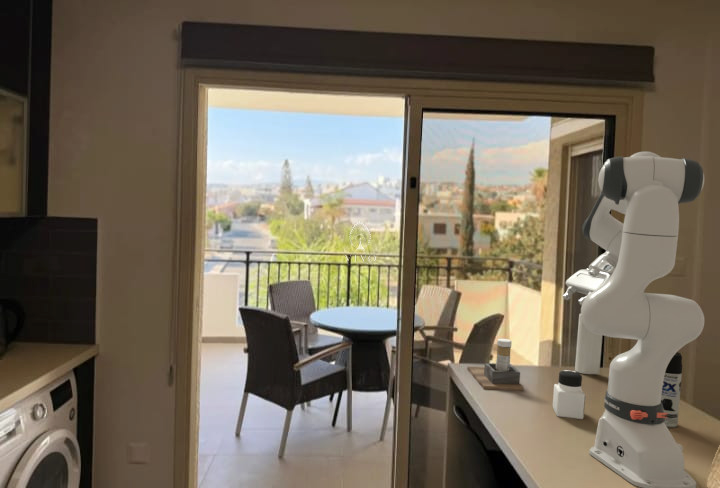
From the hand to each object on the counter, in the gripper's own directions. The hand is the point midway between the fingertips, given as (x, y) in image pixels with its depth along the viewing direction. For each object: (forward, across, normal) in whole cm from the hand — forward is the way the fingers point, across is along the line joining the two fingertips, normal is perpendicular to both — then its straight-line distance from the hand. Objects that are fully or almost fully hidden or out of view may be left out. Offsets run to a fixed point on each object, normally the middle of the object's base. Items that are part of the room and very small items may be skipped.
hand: (572, 301), depth 161 cm
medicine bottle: (+28, +18, +14) cm, 36 cm away
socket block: (+35, -10, +6) cm, 37 cm away
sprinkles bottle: (+33, -7, +7) cm, 35 cm away
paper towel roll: (+8, -19, +34) cm, 39 cm away
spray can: (+10, +25, +31) cm, 41 cm away
